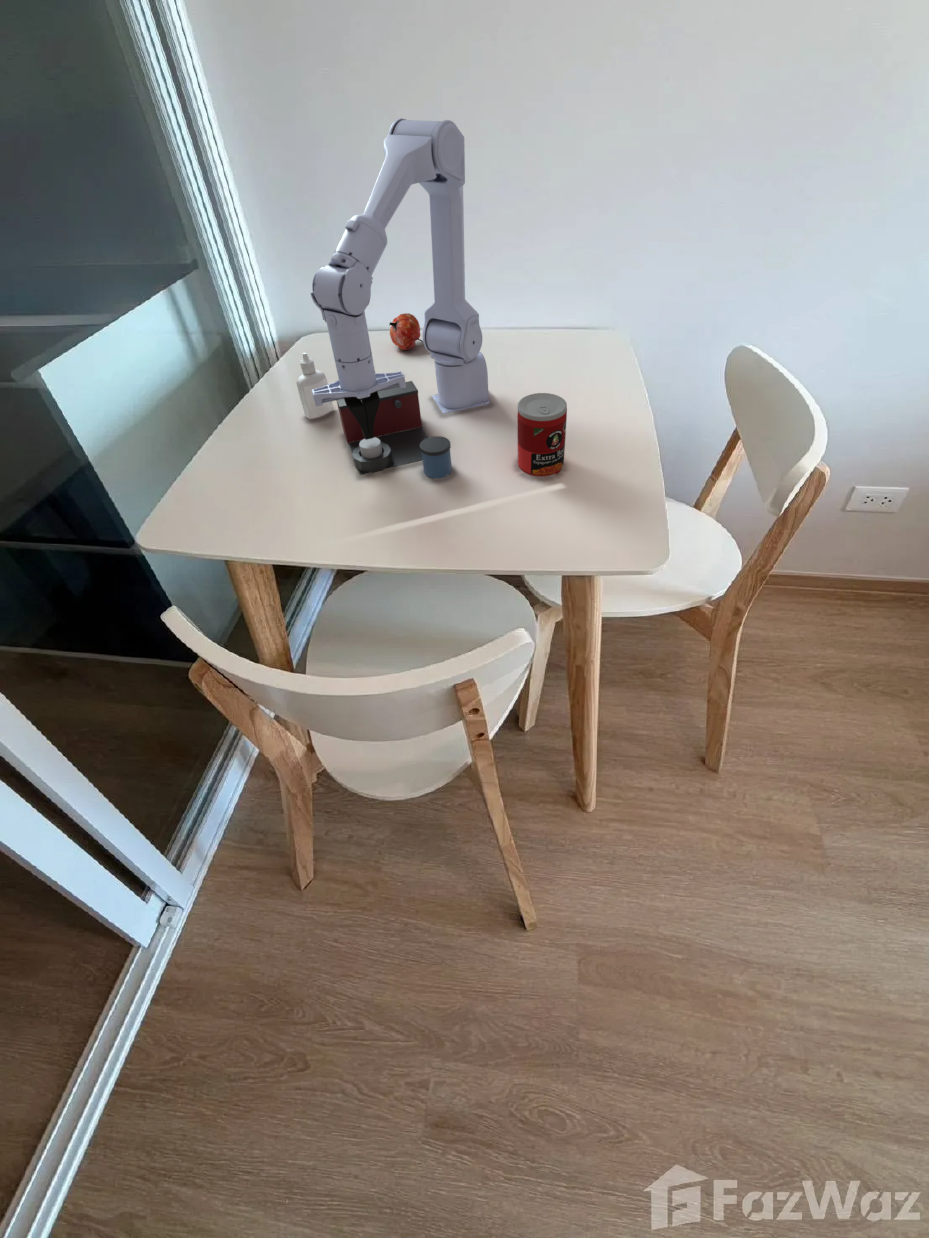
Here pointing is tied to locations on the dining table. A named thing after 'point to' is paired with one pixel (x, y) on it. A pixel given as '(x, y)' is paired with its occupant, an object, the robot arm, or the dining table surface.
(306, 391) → the eye dropper bottle
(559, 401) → the canned food
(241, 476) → the dining table surface
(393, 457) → the dark grey drip tray
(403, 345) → the pomegranate
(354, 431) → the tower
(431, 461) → the container
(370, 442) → the power button
